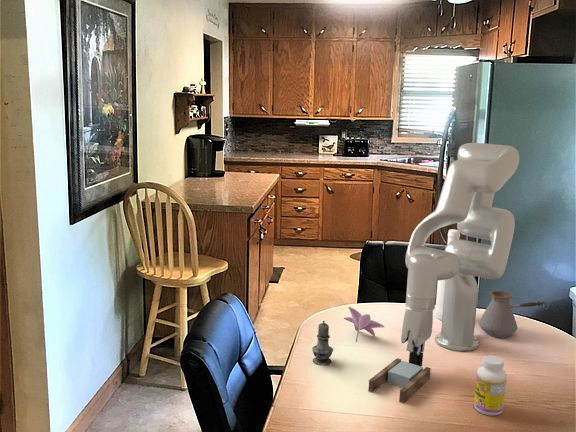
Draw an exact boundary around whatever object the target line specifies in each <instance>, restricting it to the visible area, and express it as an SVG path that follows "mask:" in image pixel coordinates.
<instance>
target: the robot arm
mask: <svg viewBox="0 0 576 432" xmlns="http://www.w3.org/2000/svg"><path fill="white" fill-rule="evenodd" d="M519 163H520V154H519V151H518V150H517V148H515V147H514V146H512V145H506V144H504V145H503V144H494V143H484V142H469V143H464V144H461V146H459V148H458V150H457V160H454V161H452V162H451V163H450V165H449V166H448V169H447V172H446V175H445V179H444V181H443V185H442V189H441V191H440V194H439V198H438V201H437V205H436V208H435V210H434V211H432V212H431V213H430V214H429V215H427V216H426V217H424V219H422V220H421V221H420V222H419V223H418V225H417V226H416V227H415V229H414V230H413V231H412V234H411V236H410V239H409V243H408V245H407V249H406V252H405V258H404V259H405V262H404V263H405V266H406V268H407V269H408V270H407V281H406V283H407V284H406V294H405V295H406V296H405V306H406V308H405V311H404V315H403V321H402V329H401V335H400V337H401V338H400V341H401V344H405V343H406V344H407V345H406V351H408V352H409V357H408V363H411V364H414V365H418V366H421V367H423V362H424V361H423V360H424V351H425V344H426V342H427V341H428V340H429V339H430V338H431V336H432V333H433V325H434V324H433V323H434V322H433V321H434V320H433V319H434V311H435V307H436V297H437V285H438V281H439V280H445V291H444V303H443V315H442V321H441V329H440V332H438V333H436V334H435V338H434V339H435V341H434V342H436V344H438V345H439V346H441V347H443V348H445V349H448V350H452V351H456V352H457V351H458V352H469V351H473V350H475V349H477V348H478V347H479V344H480V342H479V340H478V339H477V338H476V337H475V327H476V315H477V306H478V296H479V286H478V283H477V280H476V278H475V277H479V278H483V279H488V280H499V279H501V278H502V277H503V275H504V273H505V271H506V268H507V264H508V259H509V256H510V251H511V245H512V243H513V237H514V233H515V229H516V228H515V227H516V226H515V225H516V222H515V216H514V215H513V213H512V212H511V211H510V210H508V209H506V208H505V209H504V208H501V207H500V208H499V207H493V202H494V198H495V193H496V192H498V191H500V190H501V189H502V188H503V187H504V185H505V184H506V183H507V182H508V181H509V179H510V178H512V176H514V174H515V173H516V170H517V169H518V168H519ZM454 224H457V225H456V226H457V230H458V231H459V232H460V235H464V236H467V237H469V238H470V237H471V238H476V239H481V240H487V241H490V244H486V243H482V242H481V243H480V242H477V241H470V240H466V239H459V240H454V241H451V242H450V243H448V242H447V243H448V244H446V246H445V248H444V250H443V249H439V248H434V247H429V246H425V245H426V242H427V240H428V238H429V237H430V235H432V234H433V233H434V232H436V231H437V230H439V229H441V228H444V227H446V226H450V225H454Z"/></svg>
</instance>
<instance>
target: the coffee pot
mask: <svg viewBox="0 0 576 432" xmlns="http://www.w3.org/2000/svg"><path fill="white" fill-rule="evenodd" d="M490 296H491V301H490V302H489V303H488V305H487V307H486V308H485V310H484V312H483V313H482V315H481V317H480V318H479V321H478V324H479V327H480V328H481V330H482V331H483V333H485V334H486V335H487V336H491V337H494V338H498V339H500V338H501V339H504V338H509V337H510V336H511V335H513V334H514V333H516V331H517V330H518V323H517V321H516V318H515V316H514V311H513V309H514V308H523V307H524V308H525V307H527V308H529V307H532V308H533V307H535V306H538V307H539V306H542V307H543V309H544V310H548V309H549V304H548V303H547V302H546V301H537V302H532V301H531V302H524V303H520V304H519V303H518V304H510V300H511V299H512V297H513V295H512V294H511V293H510V292H508V291H507V292H506V291H503V290H493V291H491V292H490ZM545 305H546V306H547V308H546V307H544V306H545Z"/></svg>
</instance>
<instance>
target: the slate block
mask: <svg viewBox="0 0 576 432" xmlns="http://www.w3.org/2000/svg"><path fill="white" fill-rule="evenodd" d="M423 369H424V367H423V366H418V365H414V364H411V363H409V361H408V362H407V361H404V360H401V362H400V363H398V364H397V365H396V366H394V367H393V368H392V369H390V370H389V371H388V380H387V381H386V382H387V384H390V385H393V386H397V387H399V388H401V389H402V388H403V387H404V386H405V385H407V384H408V383H409V382H410V381H411V380H412V379H413V378H414V377H416V376H417V375H418V374H419V373H420V372H421V371H422V370H423Z"/></svg>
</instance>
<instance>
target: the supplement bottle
mask: <svg viewBox="0 0 576 432" xmlns="http://www.w3.org/2000/svg"><path fill="white" fill-rule="evenodd" d="M504 365H505V364H504V359H503V358H501V357H499V356H495V355H484V356H483V357H482V365H481V366H479V367H478V368H477V371H476V378H475V387H474V389H475V390H474V397H473V398H474V399H473V406H474V409H475V410H476V411H477V412H479V413H481V414H482V415H485V416H498V415H500V414H502V412H503V410H504V404H505V394H506V386H507V373H506V370H504V369H503V368H504Z"/></svg>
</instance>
